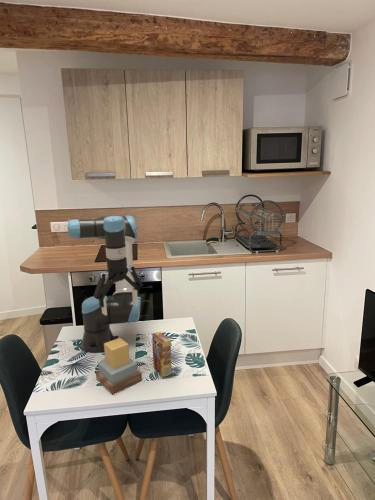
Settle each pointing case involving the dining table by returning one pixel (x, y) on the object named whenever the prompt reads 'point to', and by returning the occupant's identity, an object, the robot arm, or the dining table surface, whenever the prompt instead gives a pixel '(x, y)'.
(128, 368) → the top block
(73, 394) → the dining table surface
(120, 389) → the base block
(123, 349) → the ochre block
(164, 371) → the candy box
